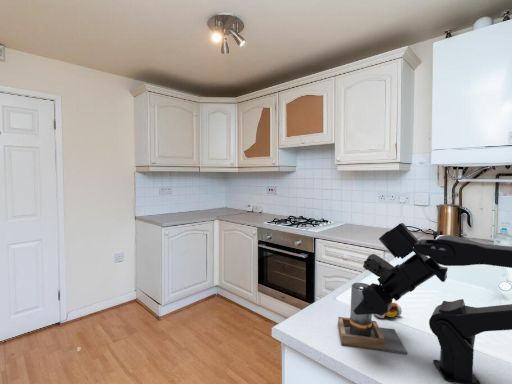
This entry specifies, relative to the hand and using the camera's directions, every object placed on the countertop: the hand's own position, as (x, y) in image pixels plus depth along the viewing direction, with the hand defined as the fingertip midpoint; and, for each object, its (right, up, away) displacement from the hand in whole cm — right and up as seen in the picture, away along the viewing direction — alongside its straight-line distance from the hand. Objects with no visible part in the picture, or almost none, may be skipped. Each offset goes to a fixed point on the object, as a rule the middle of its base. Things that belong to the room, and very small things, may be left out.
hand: (361, 306), depth 73 cm
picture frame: (+2, -8, 0) cm, 9 cm away
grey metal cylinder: (0, -8, 0) cm, 8 cm away
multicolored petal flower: (+12, -8, +15) cm, 21 cm away
